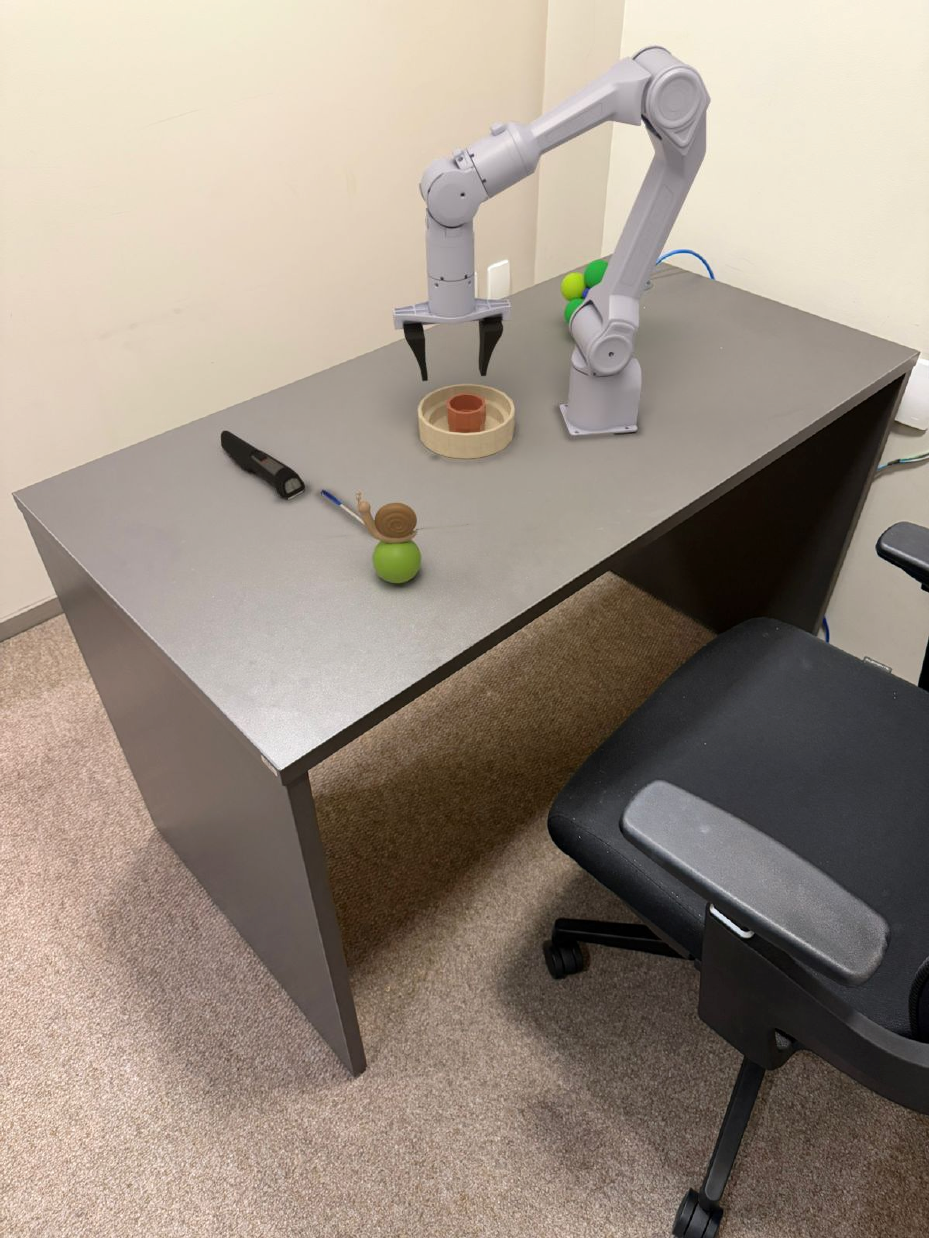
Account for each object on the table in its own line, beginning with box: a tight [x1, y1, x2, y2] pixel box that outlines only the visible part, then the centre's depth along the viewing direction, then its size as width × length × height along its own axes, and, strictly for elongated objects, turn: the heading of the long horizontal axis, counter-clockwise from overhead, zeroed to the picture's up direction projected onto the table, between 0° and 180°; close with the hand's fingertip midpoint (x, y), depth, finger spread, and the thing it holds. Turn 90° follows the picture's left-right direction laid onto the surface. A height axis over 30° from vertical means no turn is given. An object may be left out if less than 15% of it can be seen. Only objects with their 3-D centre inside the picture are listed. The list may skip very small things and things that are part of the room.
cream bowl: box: [417, 383, 516, 460], centre depth 118 cm, size 13×13×4 cm
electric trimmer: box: [220, 430, 306, 500], centre depth 112 cm, size 4×16×3 cm, turn 44°
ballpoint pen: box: [320, 489, 364, 525], centre depth 107 cm, size 10×1×1 cm, turn 44°
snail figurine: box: [355, 490, 422, 584], centre depth 94 cm, size 5×6×12 cm
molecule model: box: [560, 259, 609, 325], centre depth 135 cm, size 9×9×9 cm
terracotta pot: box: [446, 393, 486, 433], centre depth 117 cm, size 5×5×4 cm
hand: (453, 375), depth 113 cm, fingers open, 7 cm apart
